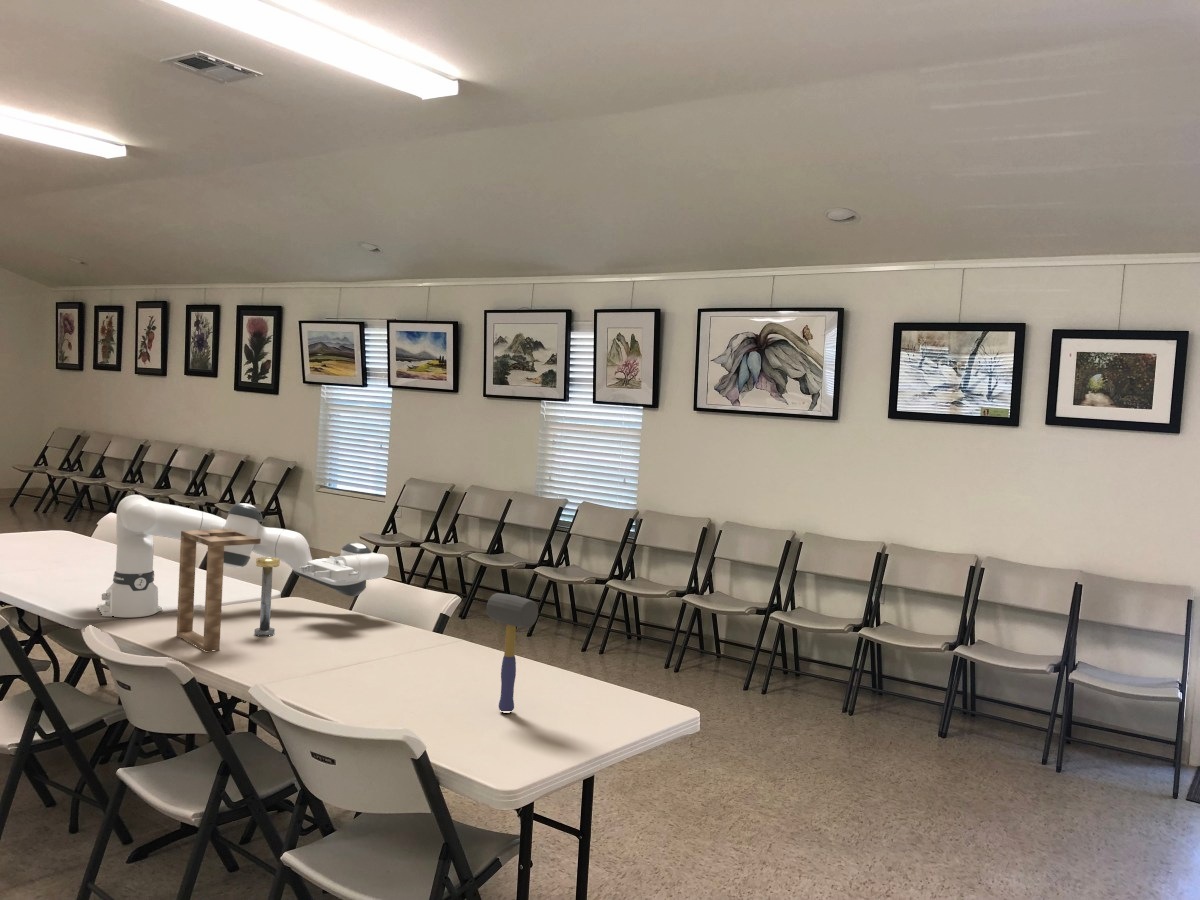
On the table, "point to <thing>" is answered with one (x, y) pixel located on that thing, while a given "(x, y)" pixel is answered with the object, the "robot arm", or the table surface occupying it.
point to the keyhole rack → (213, 582)
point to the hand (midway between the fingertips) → (307, 572)
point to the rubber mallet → (510, 636)
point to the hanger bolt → (266, 594)
